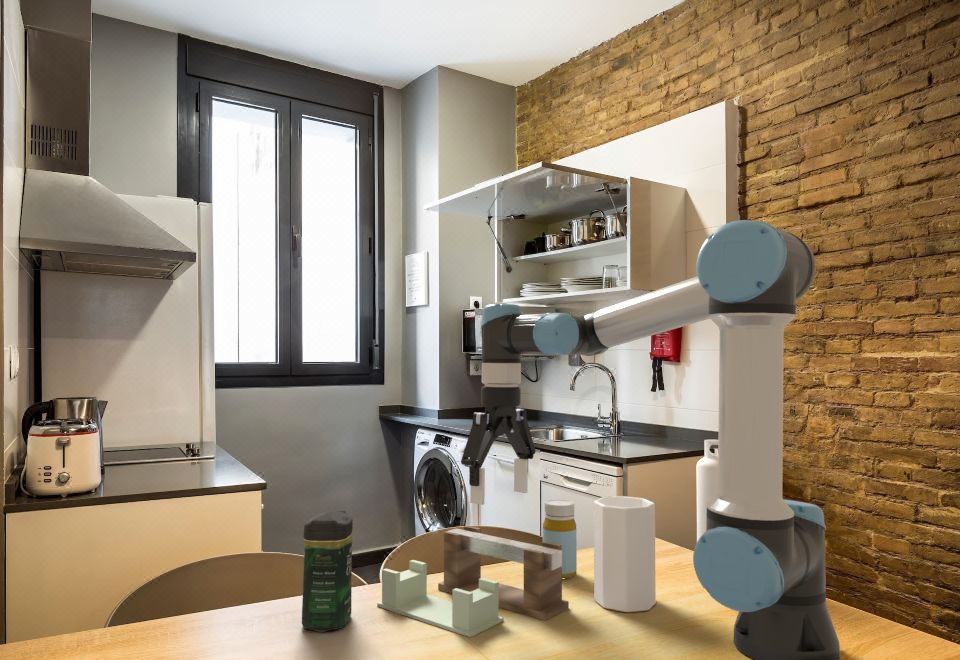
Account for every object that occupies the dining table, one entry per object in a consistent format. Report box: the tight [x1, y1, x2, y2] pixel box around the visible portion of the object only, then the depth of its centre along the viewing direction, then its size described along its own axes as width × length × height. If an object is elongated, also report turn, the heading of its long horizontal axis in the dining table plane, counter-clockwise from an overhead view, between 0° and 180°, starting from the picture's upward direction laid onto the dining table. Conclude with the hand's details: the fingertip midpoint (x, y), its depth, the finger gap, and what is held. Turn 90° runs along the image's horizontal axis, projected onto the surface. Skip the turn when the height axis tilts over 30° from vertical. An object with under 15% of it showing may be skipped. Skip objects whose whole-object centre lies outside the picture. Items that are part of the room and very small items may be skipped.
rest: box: [376, 559, 504, 638], centre depth 122 cm, size 22×9×7 cm, turn 51°
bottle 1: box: [542, 498, 578, 579], centre depth 144 cm, size 7×7×15 cm
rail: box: [445, 528, 562, 570], centre depth 130 cm, size 25×3×3 cm, turn 51°
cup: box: [593, 495, 657, 614], centre depth 128 cm, size 11×11×18 cm
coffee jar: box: [301, 509, 354, 632], centre depth 118 cm, size 10×8×19 cm
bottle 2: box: [695, 439, 718, 543], centre depth 143 cm, size 8×8×28 cm
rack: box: [437, 525, 570, 621], centre depth 130 cm, size 25×8×11 cm, turn 51°
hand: (499, 497), depth 130 cm, fingers open, 13 cm apart
